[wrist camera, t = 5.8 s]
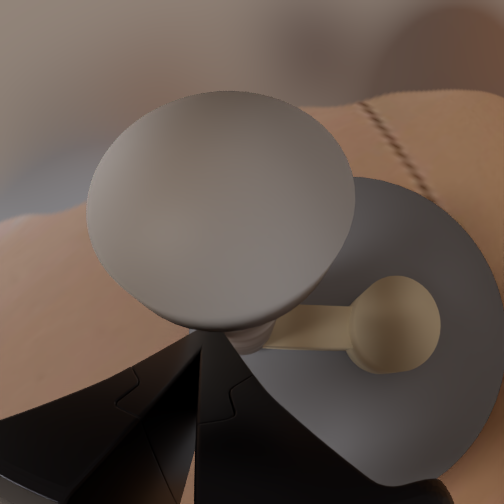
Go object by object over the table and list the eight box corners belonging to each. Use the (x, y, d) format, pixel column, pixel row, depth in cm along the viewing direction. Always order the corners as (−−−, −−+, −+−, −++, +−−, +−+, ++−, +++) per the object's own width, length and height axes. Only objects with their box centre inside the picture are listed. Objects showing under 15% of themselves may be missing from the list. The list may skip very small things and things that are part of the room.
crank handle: (415, 291, 18) (569, 162, 6) (419, 371, 16) (614, 317, 4) (207, 280, 18) (133, 87, 6) (197, 368, 16) (52, 317, 4)
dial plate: (533, 370, 16) (539, 369, 15) (295, 557, 12) (296, 563, 11) (398, 149, 23) (401, 143, 23) (138, 260, 20) (134, 256, 19)
